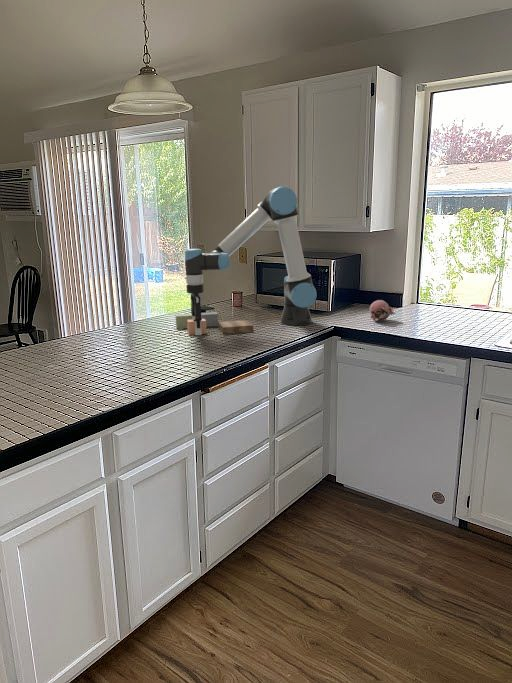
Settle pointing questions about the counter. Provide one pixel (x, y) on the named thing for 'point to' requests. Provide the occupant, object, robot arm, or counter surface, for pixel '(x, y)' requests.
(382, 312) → the toy
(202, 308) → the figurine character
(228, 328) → the walnut board
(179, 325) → the olive brick
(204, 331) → the terracotta brick
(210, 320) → the grey brick
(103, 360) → the counter surface
